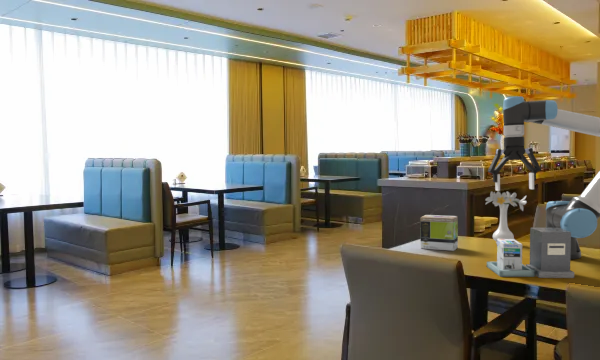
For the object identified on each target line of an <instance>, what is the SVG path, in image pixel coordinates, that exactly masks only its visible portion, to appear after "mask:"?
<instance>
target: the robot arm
mask: <svg viewBox="0 0 600 360" xmlns="http://www.w3.org/2000/svg"><path fill="white" fill-rule="evenodd" d="M524 99H525V98H524V97H523V96H517V95H516V96H506V97H505V98H504V99H503V103H502V104H503V107H502V113H503V115H502V116H503V136H504V138H503V149H500V148H497V149H495V154H494V157H493V159H492V161H491V164H490V166H489V167H488V170H487V172H488V173H489V174H492V182H493V183H494V184H495V185H494V186H495V187H494V189H495V191H497V192H498V191H499V192H501V176H500V175H501V174H500V172H501V170H502V169H503V167H504V166H505V165H506V163H508V162H509V161H521V162H522V164H524V166H525V167H526V168H527V169H528V171H530V172H528V189H529V190H535V181H537V174H538V172H540V171H541V170H542V168H541V166H540V164H539V162H538V160H537V158H536V156H535V154H534V149H533V147H527V148H525V137H524V135H525V123H533V124H538V125H543V126H546V127H552V128H556V129H561V130H562V129H563V130H566V131H571V132H576V133H580V134H585V135H589V136H595V137H599V138H600V117H598V116H594V115H590V114H584V113H580V112H574V111H569V110H565V109H559V108H558V102H556V101H555V100H549V99H546V100H533V101H532V100H531V101H530V100H529V101H526V100H524ZM503 154H504V156H503V158H502V159H501V161H499V160H500V158H501V156H502V155H503ZM525 154H527V156H528V158H529V160H530V161H529V160H528V159H527V157H526V156H525ZM599 219H600V170H599V171H598V172H597V173H596V175H595V176H594V177H593V179H592V180H591V181H590V182H589V183H588V185H587V186H586V187H585V188H584V190H583V191H582V193H580V195H579V196H573V197H572V198H571V199H570V200H567V201H566V200H555V201H553V200H552V201H548V202H547V203H546V207H545V228H561V229H563V230H566V231H569V232H571V255H570V260H577V259H581V257H582V251H581V248H580V244H579V241H578V239H583V238H587V237H589V236H591V235H592V234H593V233H594V232H595V231H596V230H597V227H598V220H599Z"/></svg>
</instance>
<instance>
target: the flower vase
mask: <svg viewBox="0 0 600 360" xmlns="http://www.w3.org/2000/svg"><path fill="white" fill-rule="evenodd" d="M516 197H517V193H516V192H513V193H511V192H509V191H506V192H502V193H501V191H497V192H495V191H494V192H493V191H490V194H489V196H488V197H486V198H485V201H486V202H485V205H488V204H489V203H491V202H492V205H494V207H499V224H498V227H497V229H496V230H495V231H494V232H493V234H492V239H493V240H494V241H495V244H496V245H497V239H515V238H514V233H513V232H512V231H511V230H510V229H509V226H508V210H509V209H508V208H509V206H510V205H511V206H513V207H518V205H519V209H520V210H521V211H522V212H524V206H525V205H526V204H527V200H526V198H527V195H525V196H523V197H522V199H519V198H516Z"/></svg>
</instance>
